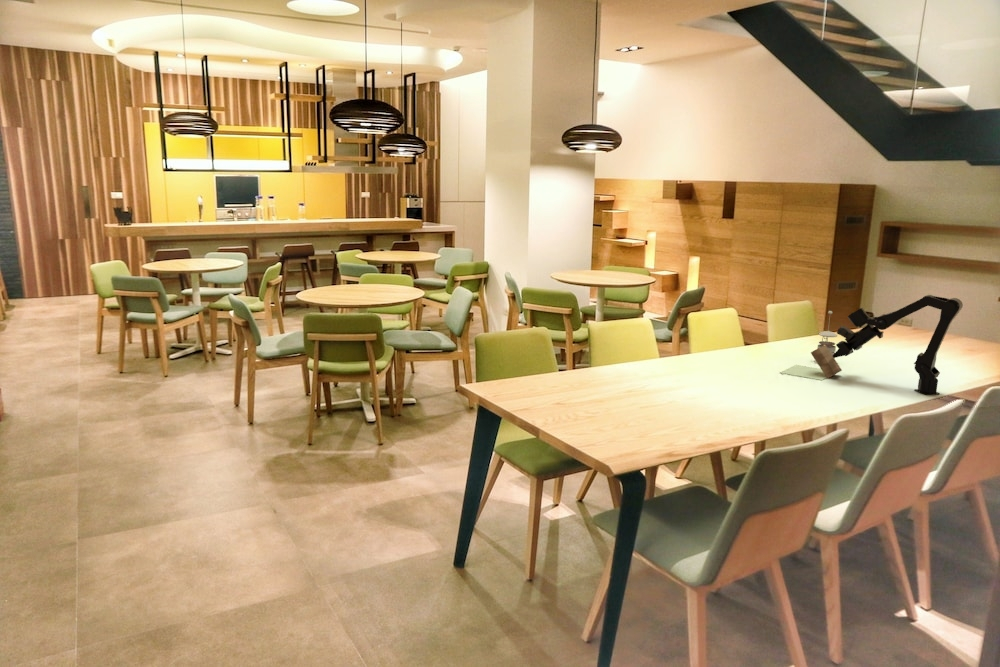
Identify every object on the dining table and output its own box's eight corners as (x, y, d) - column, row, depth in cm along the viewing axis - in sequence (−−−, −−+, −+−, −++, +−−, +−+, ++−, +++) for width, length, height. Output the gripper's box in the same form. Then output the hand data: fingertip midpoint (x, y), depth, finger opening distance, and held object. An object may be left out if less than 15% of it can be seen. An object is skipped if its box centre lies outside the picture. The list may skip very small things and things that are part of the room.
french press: (815, 364, 326) (821, 312, 321) (811, 358, 337) (816, 308, 332) (838, 365, 324) (844, 313, 319) (833, 360, 335) (838, 309, 330)
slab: (842, 370, 306) (825, 345, 309) (835, 374, 299) (818, 348, 302) (833, 374, 308) (817, 349, 311) (827, 378, 302) (810, 352, 305)
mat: (836, 372, 313) (836, 371, 312) (821, 380, 298) (821, 379, 298) (795, 365, 324) (796, 364, 324) (779, 373, 310) (779, 372, 310)
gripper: (857, 318, 303) (828, 339, 312) (844, 323, 289) (813, 345, 299) (874, 338, 299) (844, 358, 309) (862, 345, 286) (831, 366, 295)
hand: (833, 356), depth 303 cm, fingers closed
